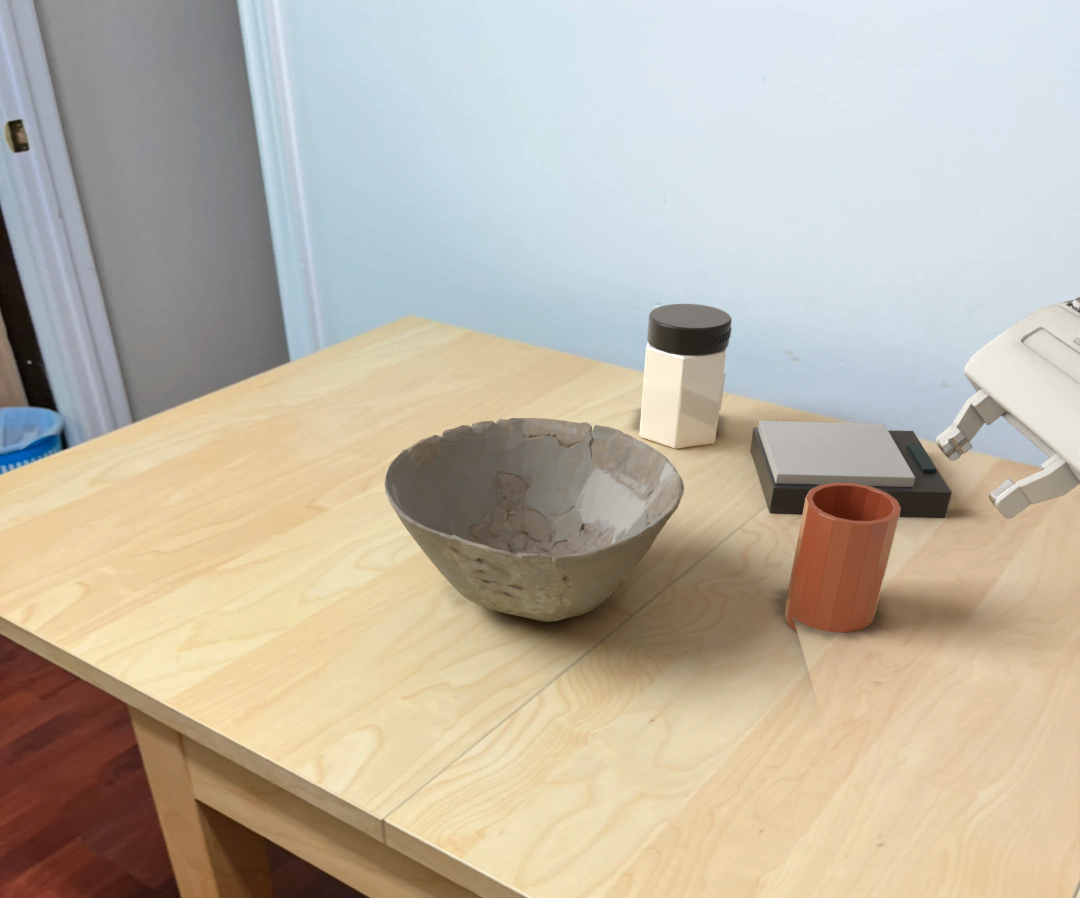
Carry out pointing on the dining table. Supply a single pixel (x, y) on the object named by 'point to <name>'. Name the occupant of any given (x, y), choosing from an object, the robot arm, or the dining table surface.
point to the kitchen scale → (845, 464)
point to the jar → (684, 374)
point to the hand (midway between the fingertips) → (968, 478)
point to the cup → (841, 556)
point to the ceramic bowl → (534, 510)
